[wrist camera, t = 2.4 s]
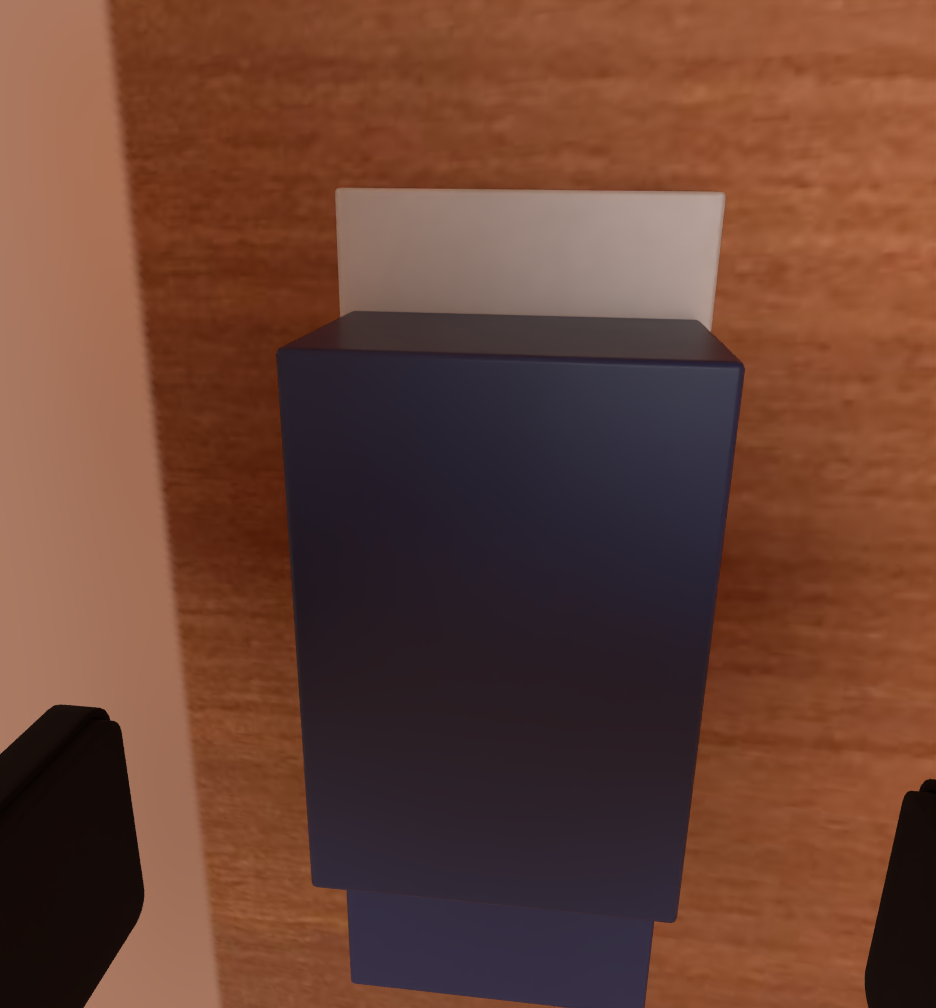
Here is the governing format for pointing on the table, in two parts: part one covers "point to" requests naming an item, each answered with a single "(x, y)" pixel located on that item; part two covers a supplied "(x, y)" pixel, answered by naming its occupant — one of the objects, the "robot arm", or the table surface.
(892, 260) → the table surface
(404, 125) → the table surface
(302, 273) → the table surface
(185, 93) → the table surface
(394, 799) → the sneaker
